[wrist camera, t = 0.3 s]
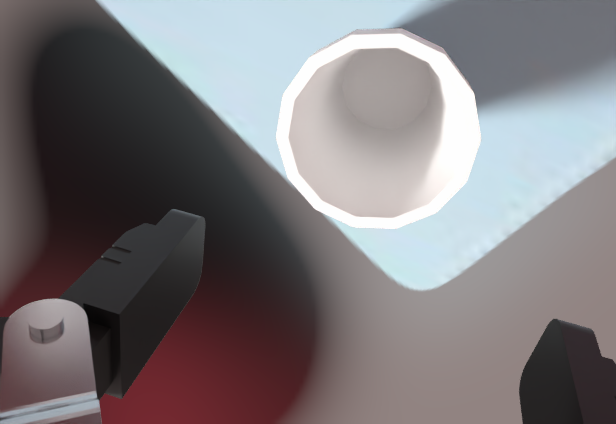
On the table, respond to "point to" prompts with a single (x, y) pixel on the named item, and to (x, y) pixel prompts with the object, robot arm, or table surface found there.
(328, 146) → the foam cup
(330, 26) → the table surface
